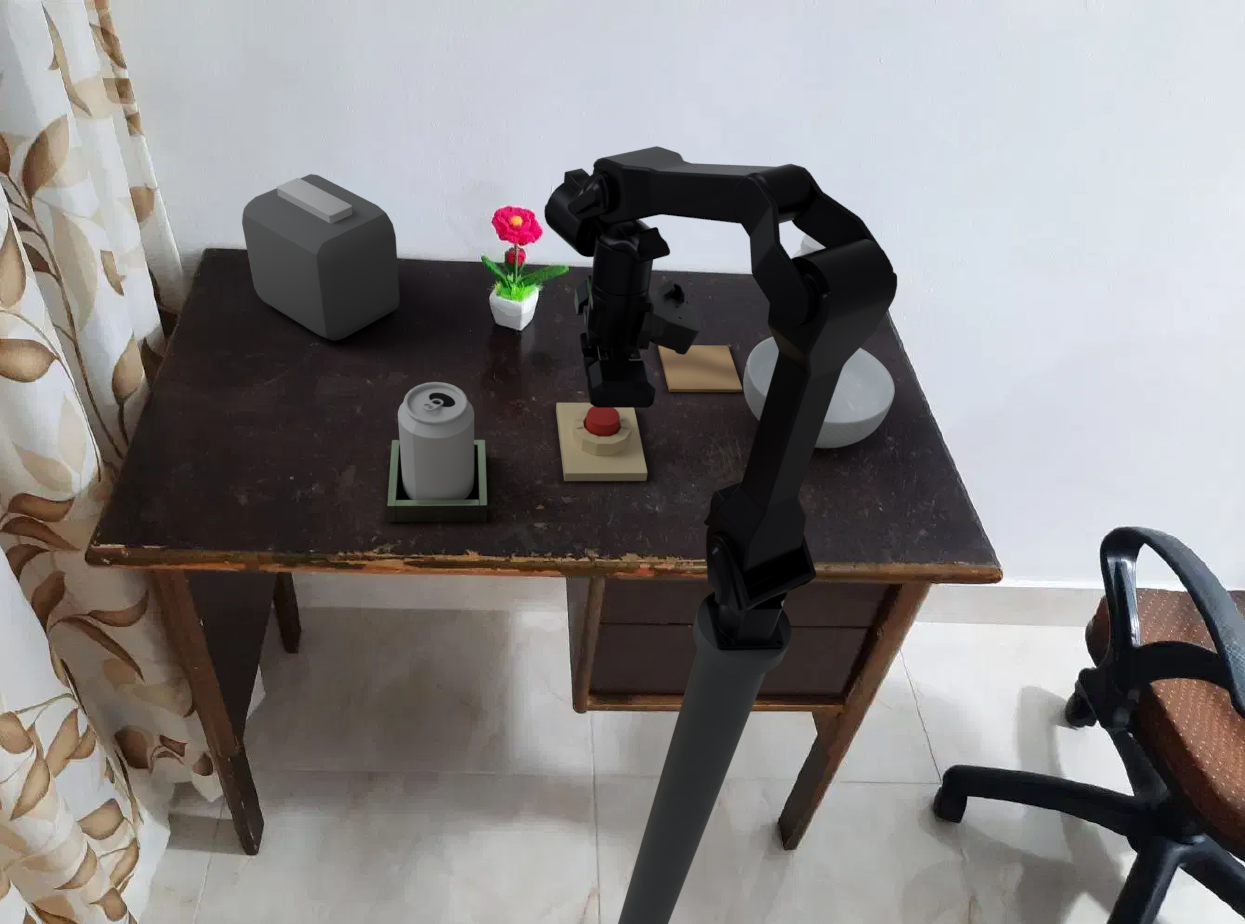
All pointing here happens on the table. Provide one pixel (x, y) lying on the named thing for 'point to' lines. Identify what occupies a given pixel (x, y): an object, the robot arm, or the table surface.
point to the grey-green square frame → (437, 508)
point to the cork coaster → (700, 369)
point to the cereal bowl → (853, 402)
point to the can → (436, 442)
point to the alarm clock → (322, 256)
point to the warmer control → (599, 447)
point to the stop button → (602, 421)
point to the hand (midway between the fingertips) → (604, 405)
